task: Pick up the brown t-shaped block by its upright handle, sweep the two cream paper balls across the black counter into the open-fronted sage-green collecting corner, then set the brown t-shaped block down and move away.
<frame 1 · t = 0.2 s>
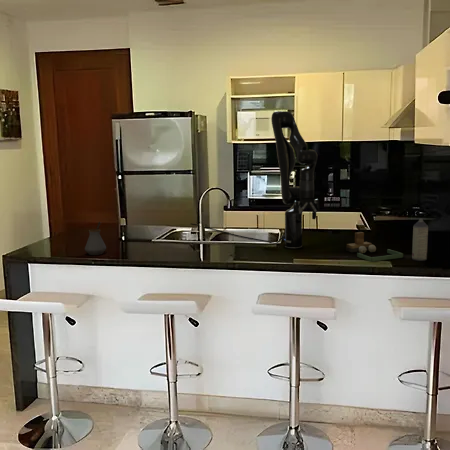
hand: (306, 219, 279), 17 cm above the worktop, tool pointing down, fingers open, 8 cm apart
aerosol can: (419, 259, 262), on the worktop
coffee pot: (97, 251, 295), on the worktop
corral: (379, 256, 268), on the worktop
brown t-shaped block: (359, 250, 284), on the worktop
paper ball b: (372, 248, 278), point 2 cm above the worktop
paper ball a: (362, 249, 276), point 2 cm above the worktop
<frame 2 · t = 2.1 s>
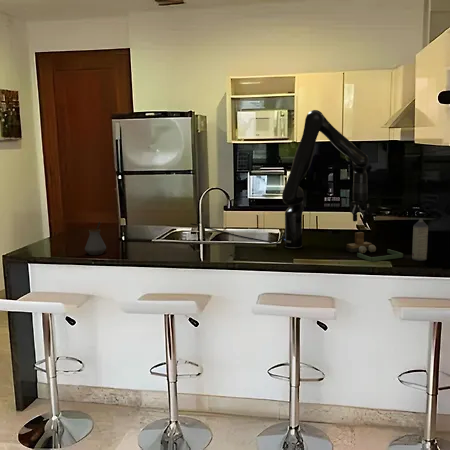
hand: (359, 222, 280), 15 cm above the worktop, tool pointing down, fingers open, 8 cm apart
nothing on the worktop moved.
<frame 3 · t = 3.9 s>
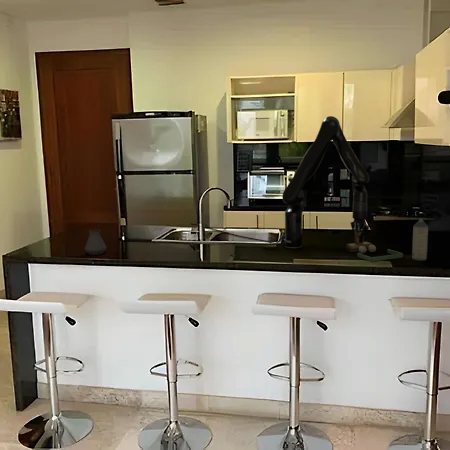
hand: (359, 241, 283), 5 cm above the worktop, tool pointing down, fingers closed on brown t-shaped block, 2 cm apart
brown t-shaped block: (359, 250, 283), on the worktop, touching gripper
everything else where it was.
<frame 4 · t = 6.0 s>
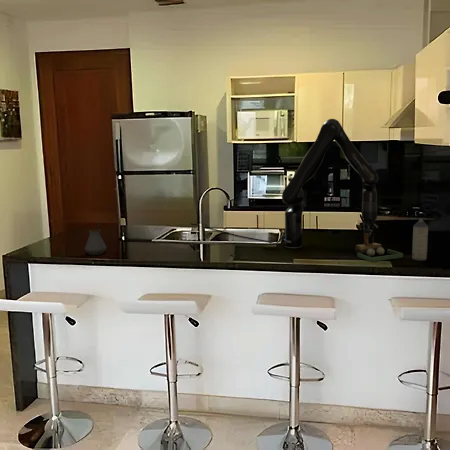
hand: (368, 242, 275), 5 cm above the worktop, tool pointing down, fingers closed on brown t-shaped block, 2 cm apart
brown t-shaped block: (368, 251, 276), point 1 cm above the worktop, touching gripper
paper ball b: (380, 251, 272), point 2 cm above the worktop, tilted 168°
paper ball a: (370, 252, 269), point 2 cm above the worktop, tilted 162°
everything else where it was.
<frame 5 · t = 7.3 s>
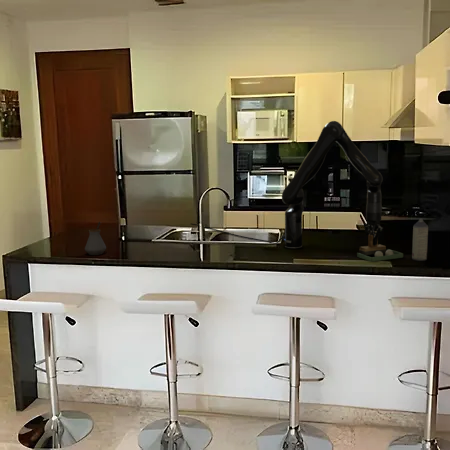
hand: (372, 244, 272), 5 cm above the worktop, tool pointing down, fingers closed on brown t-shaped block, 2 cm apart
brown t-shaped block: (372, 253, 273), point 1 cm above the worktop, touching gripper
paper ball b: (389, 253, 266), point 2 cm above the worktop, tilted 25°
paper ball a: (378, 255, 264), point 2 cm above the worktop, tilted 18°
everything else where it was.
when the fingers open (5 cm above the worktop, at t = 9.5 s): brown t-shaped block stays where it is, on the worktop.
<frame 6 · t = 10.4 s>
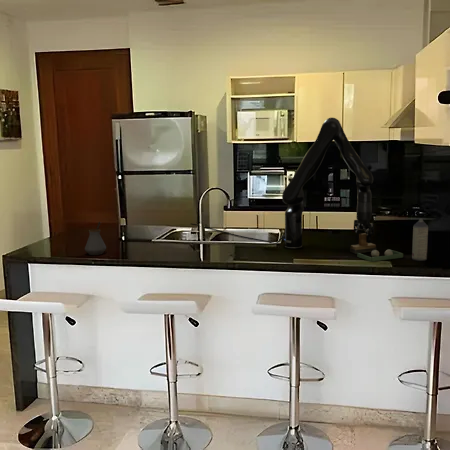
hand: (363, 241, 279), 6 cm above the worktop, tool pointing down, fingers open, 8 cm apart
brown t-shaped block: (363, 251, 280), on the worktop
paper ball b: (388, 253, 266), point 2 cm above the worktop, tilted 12°
paper ball a: (375, 253, 266), point 2 cm above the worktop, tilted 63°
everything else where it was.
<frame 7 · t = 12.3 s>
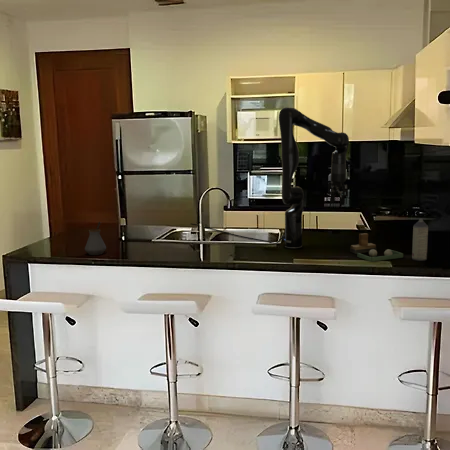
hand: (337, 203, 276), 26 cm above the worktop, tool pointing down, fingers open, 8 cm apart
paper ball b: (388, 253, 266), point 2 cm above the worktop
paper ball a: (373, 253, 268), point 2 cm above the worktop, tilted 112°
everything else where it was.
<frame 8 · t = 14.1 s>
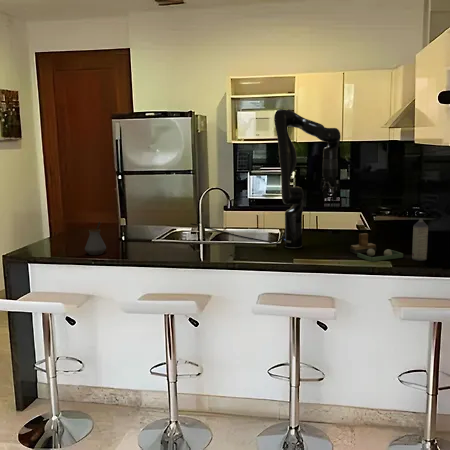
hand: (329, 199, 275), 28 cm above the worktop, tool pointing down, fingers open, 8 cm apart
paper ball a: (371, 252, 269), point 2 cm above the worktop, tilted 159°
everything else where it was.
at the end: paper ball a inside the target area on the corral (4.2 cm from its centre), point 2.0 cm above the corral's base; paper ball b inside the target area on the corral (4.0 cm from its centre), point 2.0 cm above the corral's base; the gripper is holding nothing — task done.
